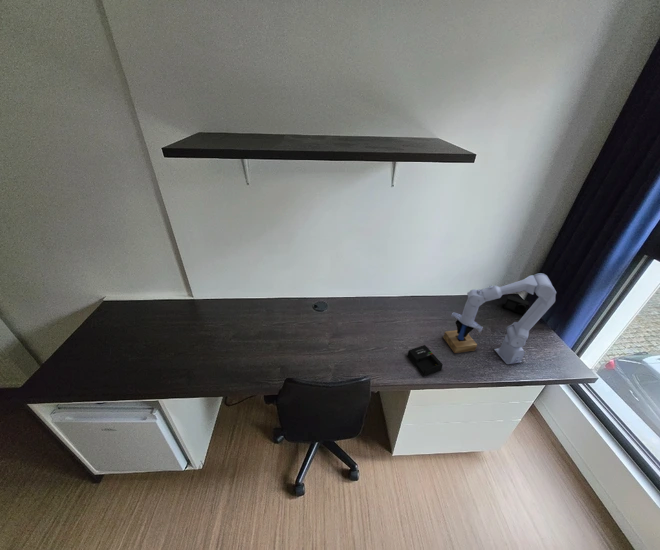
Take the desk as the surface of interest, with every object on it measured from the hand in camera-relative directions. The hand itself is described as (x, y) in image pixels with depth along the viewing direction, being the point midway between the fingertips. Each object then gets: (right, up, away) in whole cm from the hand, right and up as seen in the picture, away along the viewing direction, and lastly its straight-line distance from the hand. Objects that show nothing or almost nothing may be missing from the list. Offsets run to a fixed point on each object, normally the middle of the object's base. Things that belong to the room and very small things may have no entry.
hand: (461, 334), depth 142 cm
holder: (0, -5, +3) cm, 6 cm away
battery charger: (-21, -12, -7) cm, 25 cm away
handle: (0, -2, +1) cm, 3 cm away
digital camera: (+43, +9, +27) cm, 51 cm away
